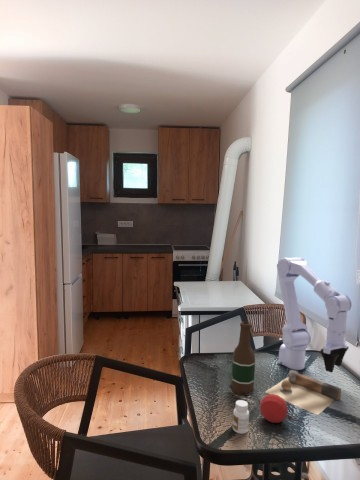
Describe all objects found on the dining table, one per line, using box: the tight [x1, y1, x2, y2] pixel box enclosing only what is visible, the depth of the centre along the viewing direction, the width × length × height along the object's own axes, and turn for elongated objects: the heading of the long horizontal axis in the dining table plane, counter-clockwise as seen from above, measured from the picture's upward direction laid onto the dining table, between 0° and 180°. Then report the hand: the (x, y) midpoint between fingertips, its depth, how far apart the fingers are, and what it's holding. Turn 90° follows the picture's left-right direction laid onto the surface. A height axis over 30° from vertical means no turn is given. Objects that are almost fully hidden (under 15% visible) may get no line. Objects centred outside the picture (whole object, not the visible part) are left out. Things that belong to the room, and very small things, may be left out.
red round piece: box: [259, 393, 289, 424], centre depth 105 cm, size 8×8×8 cm
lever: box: [288, 369, 342, 401], centre depth 121 cm, size 18×3×3 cm, turn 45°
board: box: [264, 376, 336, 416], centre depth 118 cm, size 18×17×5 cm
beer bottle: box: [230, 321, 256, 397], centre depth 120 cm, size 8×8×24 cm
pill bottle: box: [232, 399, 250, 435], centre depth 100 cm, size 4×4×8 cm
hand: (333, 368), depth 123 cm, fingers open, 6 cm apart
